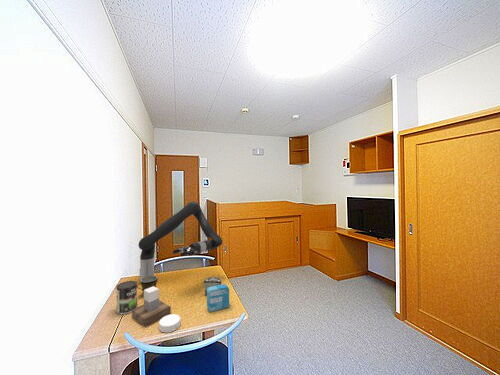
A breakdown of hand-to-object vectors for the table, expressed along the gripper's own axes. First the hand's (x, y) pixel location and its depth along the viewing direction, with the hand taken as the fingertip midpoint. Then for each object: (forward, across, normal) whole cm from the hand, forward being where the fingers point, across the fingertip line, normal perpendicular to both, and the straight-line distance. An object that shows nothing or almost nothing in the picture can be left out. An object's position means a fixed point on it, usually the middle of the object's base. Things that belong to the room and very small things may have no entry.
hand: (177, 253), depth 136 cm
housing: (+20, +6, +24) cm, 31 cm away
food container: (-17, +15, +28) cm, 36 cm away
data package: (-8, +29, +28) cm, 41 cm away
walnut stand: (+20, +6, +28) cm, 34 cm away
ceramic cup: (+10, -18, +28) cm, 35 cm away
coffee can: (+25, -11, +28) cm, 39 cm away
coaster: (+18, +22, +28) cm, 40 cm away
